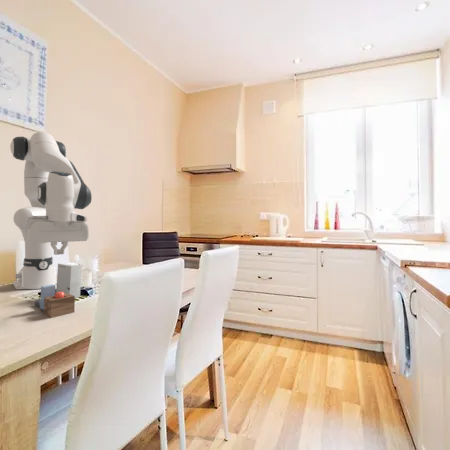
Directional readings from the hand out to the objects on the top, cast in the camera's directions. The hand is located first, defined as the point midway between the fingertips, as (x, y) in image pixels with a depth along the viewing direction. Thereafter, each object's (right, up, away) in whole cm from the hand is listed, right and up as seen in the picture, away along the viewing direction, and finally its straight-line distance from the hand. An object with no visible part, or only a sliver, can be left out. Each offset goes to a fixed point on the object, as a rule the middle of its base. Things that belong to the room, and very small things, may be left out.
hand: (58, 254), depth 107 cm
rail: (-9, -21, +5) cm, 24 cm away
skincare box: (-7, -21, +21) cm, 31 cm away
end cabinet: (0, -22, +1) cm, 22 cm away
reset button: (0, -17, +1) cm, 17 cm away
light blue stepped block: (-6, -21, +3) cm, 23 cm away
